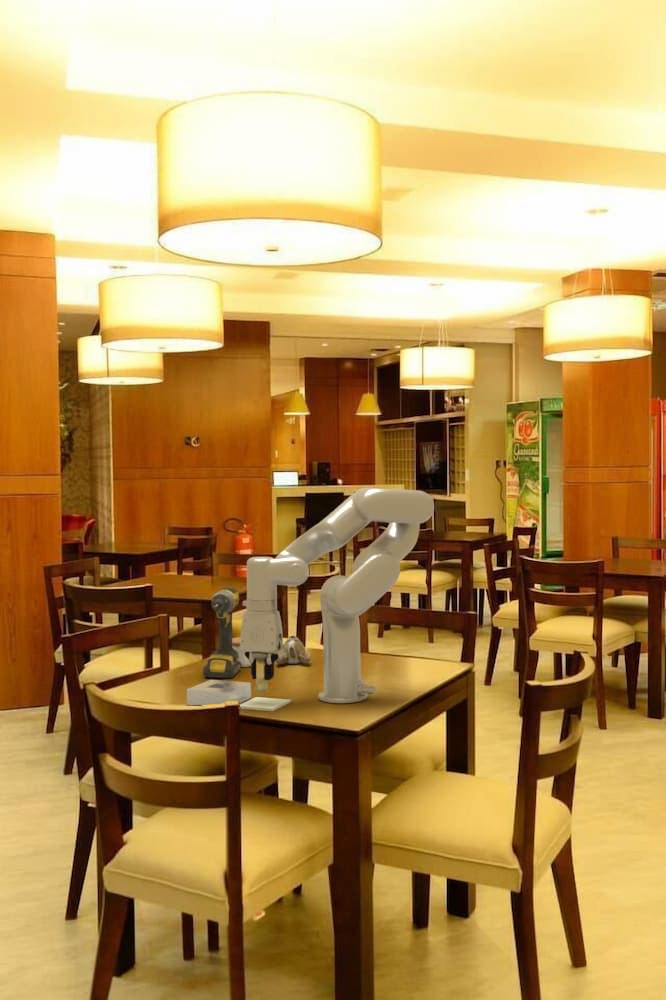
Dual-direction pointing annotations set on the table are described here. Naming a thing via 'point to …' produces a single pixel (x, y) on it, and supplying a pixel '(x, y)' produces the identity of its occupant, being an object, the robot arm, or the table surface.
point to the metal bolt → (261, 672)
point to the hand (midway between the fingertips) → (262, 678)
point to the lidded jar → (242, 658)
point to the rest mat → (264, 704)
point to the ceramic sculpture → (294, 652)
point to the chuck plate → (218, 692)
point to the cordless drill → (224, 637)
